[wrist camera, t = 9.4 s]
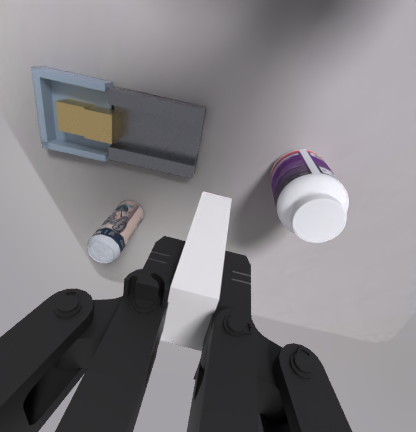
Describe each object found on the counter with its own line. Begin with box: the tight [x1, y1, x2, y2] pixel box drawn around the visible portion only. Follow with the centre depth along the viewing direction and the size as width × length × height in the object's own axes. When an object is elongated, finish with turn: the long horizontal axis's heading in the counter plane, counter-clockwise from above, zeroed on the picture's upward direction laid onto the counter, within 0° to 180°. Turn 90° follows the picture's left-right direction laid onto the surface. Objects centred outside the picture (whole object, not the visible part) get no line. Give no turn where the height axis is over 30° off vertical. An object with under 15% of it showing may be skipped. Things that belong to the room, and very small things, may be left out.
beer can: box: [87, 201, 144, 264], centre depth 43 cm, size 5×5×12 cm
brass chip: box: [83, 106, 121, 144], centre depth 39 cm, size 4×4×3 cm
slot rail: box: [108, 87, 206, 178], centre depth 40 cm, size 10×13×2 cm
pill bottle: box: [270, 149, 349, 243], centre depth 35 cm, size 8×8×14 cm
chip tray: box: [31, 66, 113, 162], centre depth 40 cm, size 11×10×2 cm
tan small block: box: [56, 98, 95, 136], centre depth 39 cm, size 4×4×3 cm
